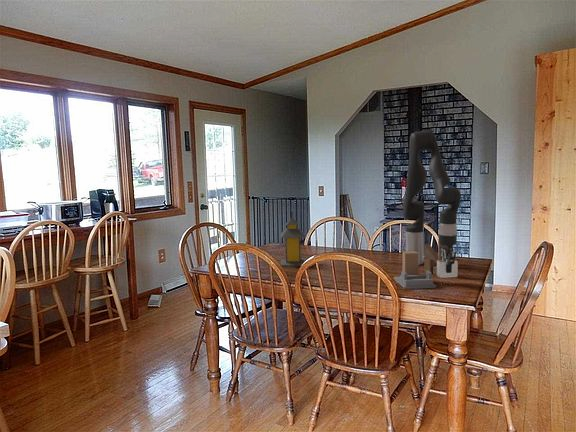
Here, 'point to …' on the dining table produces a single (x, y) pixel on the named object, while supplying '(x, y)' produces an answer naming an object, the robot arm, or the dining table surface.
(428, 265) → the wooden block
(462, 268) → the dining table surface
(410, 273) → the post footing
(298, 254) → the lantern
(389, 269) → the dining table surface
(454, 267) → the pale grey block
